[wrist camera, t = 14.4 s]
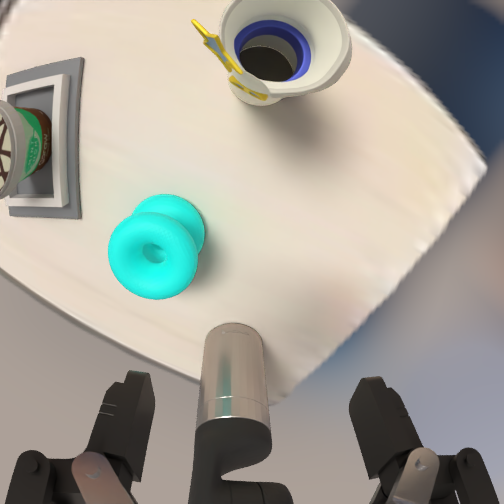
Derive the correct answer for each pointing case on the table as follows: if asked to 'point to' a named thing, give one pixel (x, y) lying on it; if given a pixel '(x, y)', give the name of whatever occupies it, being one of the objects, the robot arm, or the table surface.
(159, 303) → the table surface
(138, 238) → the donuts
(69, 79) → the tray
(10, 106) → the food container
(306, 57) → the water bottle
